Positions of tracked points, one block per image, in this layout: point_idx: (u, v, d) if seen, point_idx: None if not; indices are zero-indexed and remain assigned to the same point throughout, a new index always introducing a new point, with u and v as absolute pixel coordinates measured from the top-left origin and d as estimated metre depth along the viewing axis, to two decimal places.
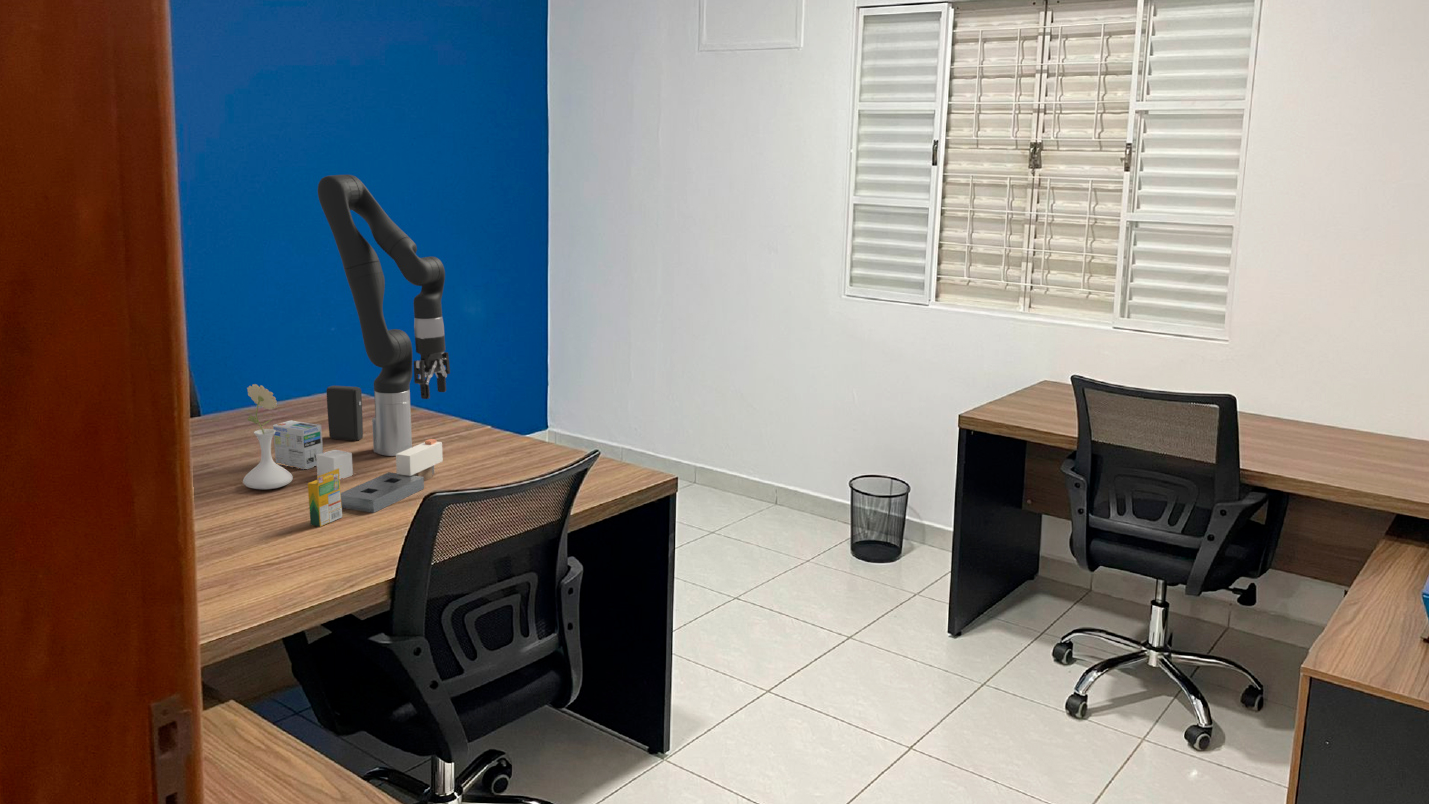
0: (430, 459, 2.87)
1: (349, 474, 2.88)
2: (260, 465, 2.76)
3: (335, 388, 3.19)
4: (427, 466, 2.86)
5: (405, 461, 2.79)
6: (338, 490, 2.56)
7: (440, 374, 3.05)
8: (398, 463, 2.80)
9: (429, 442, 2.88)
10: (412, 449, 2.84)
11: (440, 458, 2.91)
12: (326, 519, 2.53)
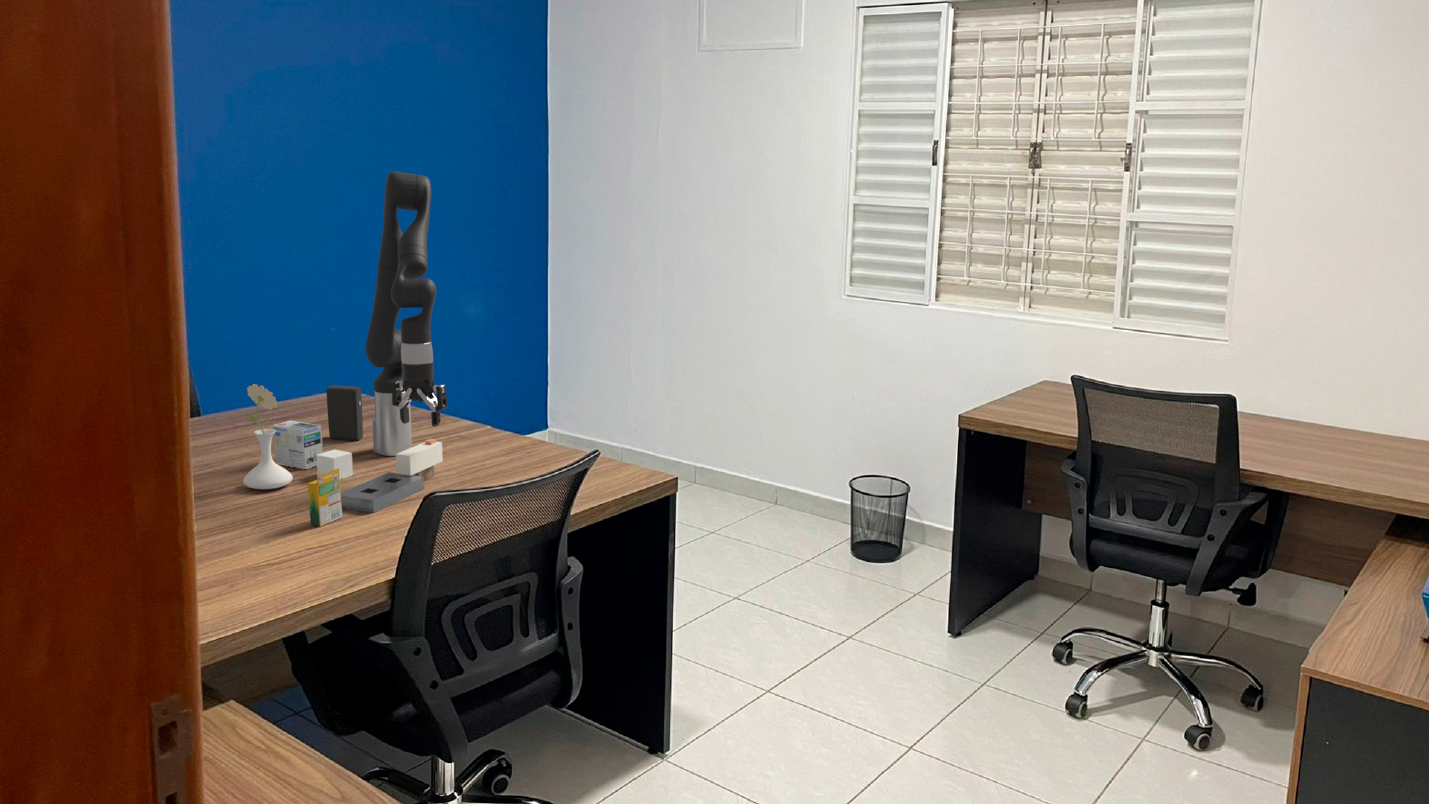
0: (430, 459, 2.87)
1: (349, 474, 2.88)
2: (260, 465, 2.76)
3: (335, 388, 3.19)
4: (427, 466, 2.86)
5: (405, 461, 2.79)
6: (338, 490, 2.56)
7: (404, 404, 2.84)
8: (398, 463, 2.80)
9: (429, 442, 2.88)
10: (412, 449, 2.84)
11: (440, 458, 2.91)
12: (326, 519, 2.53)
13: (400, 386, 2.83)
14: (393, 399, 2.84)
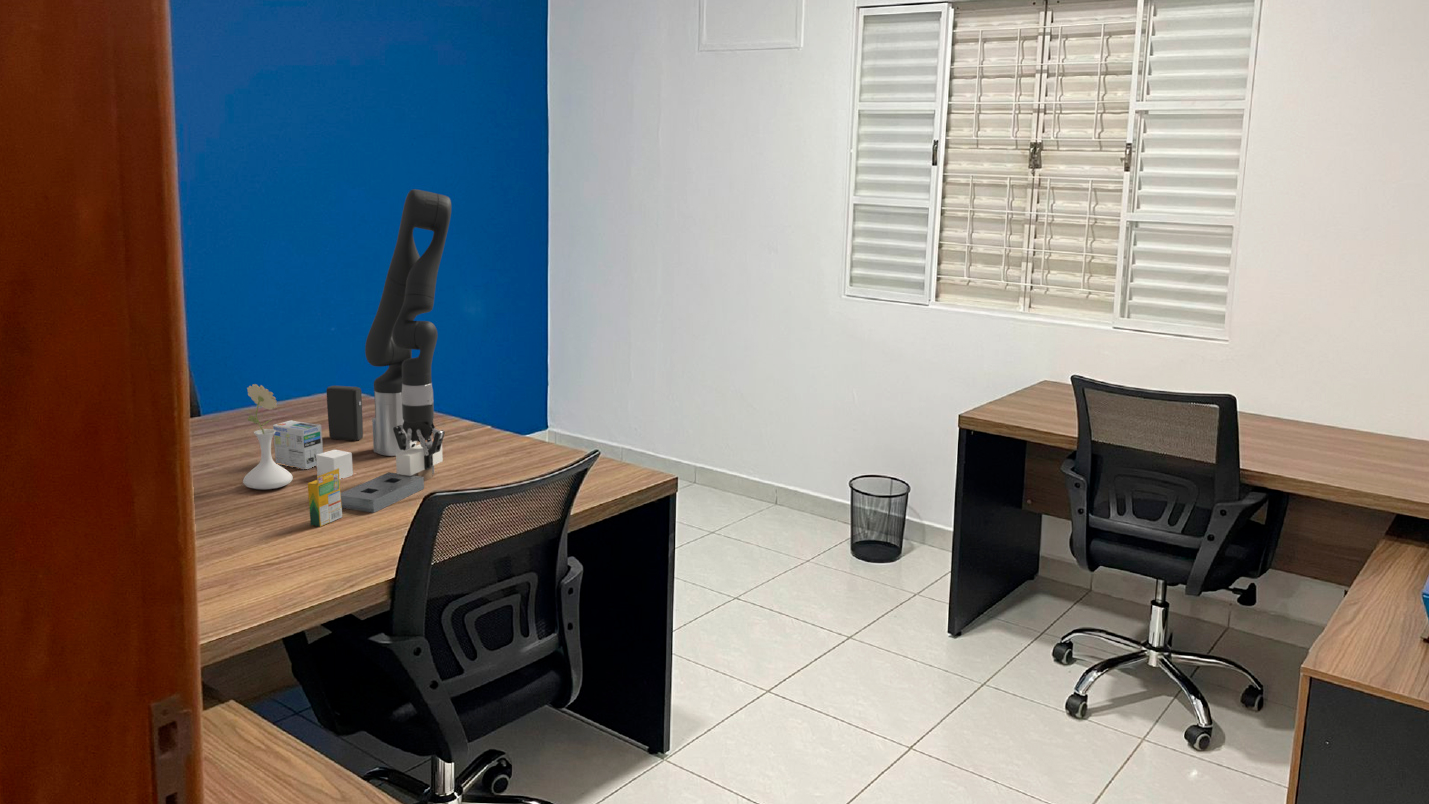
0: None
1: (349, 474, 2.88)
2: (260, 465, 2.76)
3: (335, 388, 3.19)
4: None
5: (405, 461, 2.79)
6: (338, 490, 2.56)
7: None
8: (398, 463, 2.80)
9: None
10: (412, 449, 2.84)
11: (440, 458, 2.91)
12: (326, 519, 2.53)
13: (401, 429, 2.85)
14: (399, 444, 2.85)
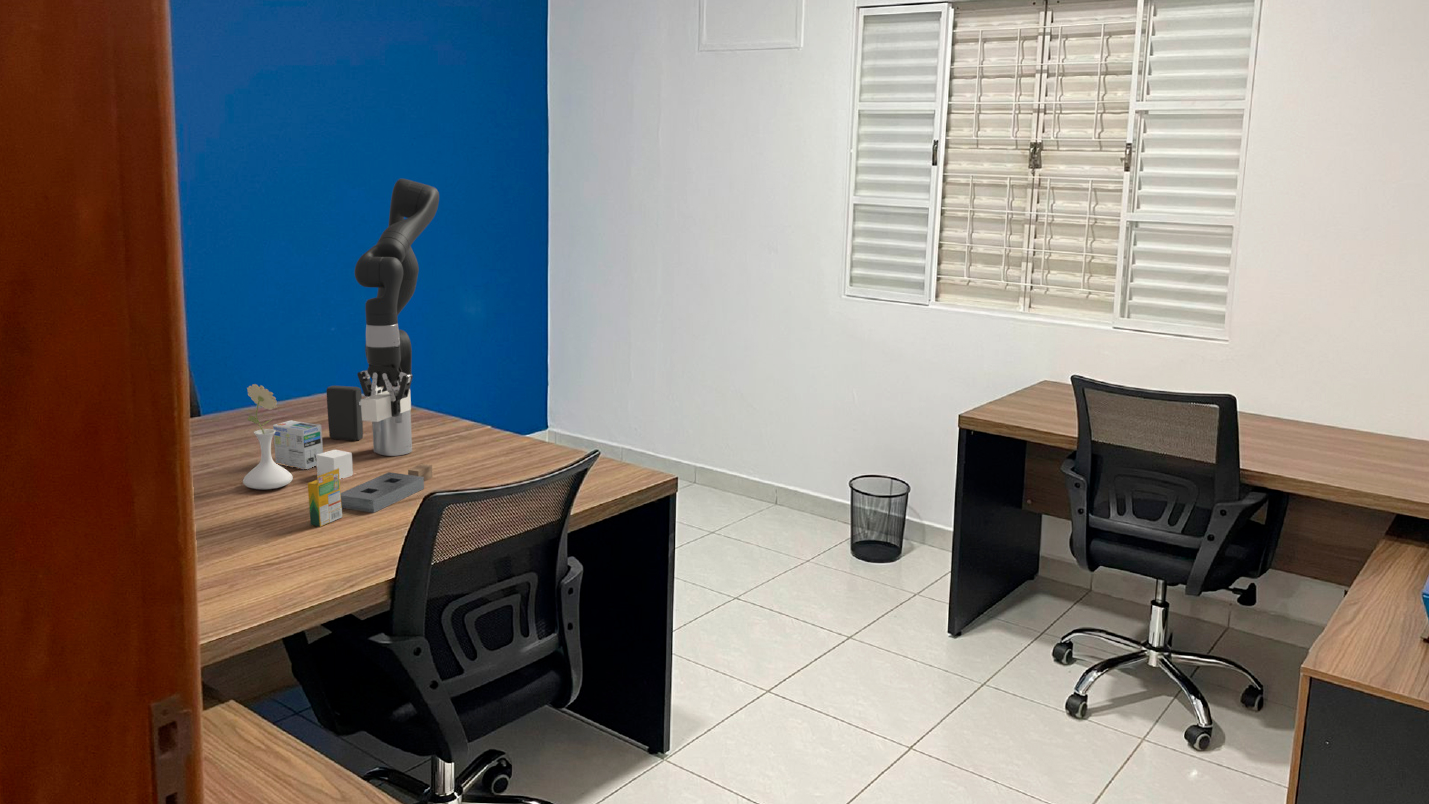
0: None
1: (349, 474, 2.88)
2: (260, 465, 2.76)
3: (335, 388, 3.19)
4: None
5: (371, 406, 2.62)
6: (338, 490, 2.56)
7: None
8: (363, 409, 2.63)
9: None
10: (378, 395, 2.67)
11: (408, 406, 2.74)
12: (326, 519, 2.53)
13: (366, 374, 2.68)
14: (364, 390, 2.68)
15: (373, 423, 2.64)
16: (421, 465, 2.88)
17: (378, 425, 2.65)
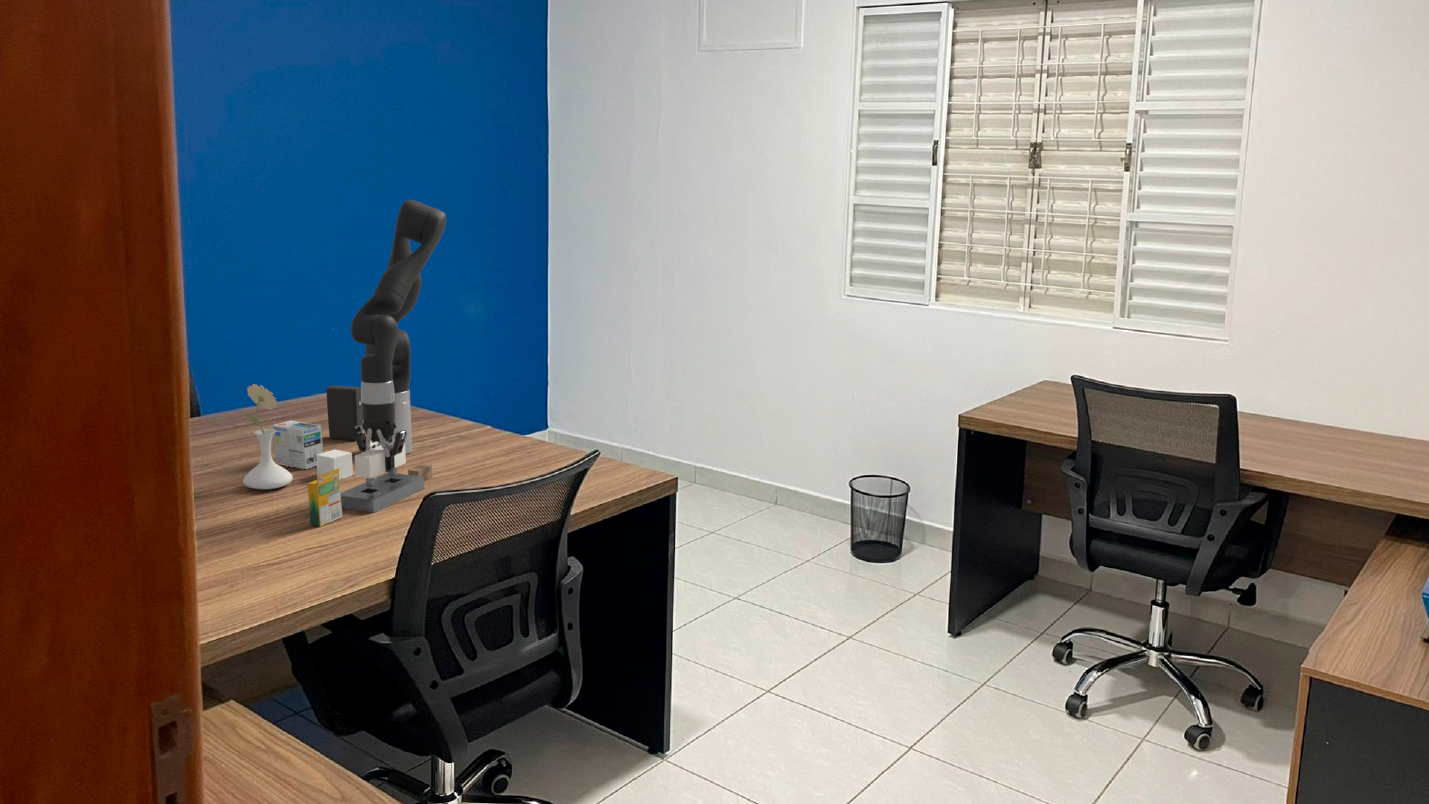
0: None
1: (349, 474, 2.88)
2: (260, 465, 2.76)
3: (335, 388, 3.19)
4: None
5: (364, 462, 2.63)
6: (338, 490, 2.56)
7: None
8: (357, 465, 2.64)
9: None
10: (372, 450, 2.68)
11: (403, 460, 2.76)
12: (326, 519, 2.53)
13: (361, 429, 2.70)
14: (359, 444, 2.70)
15: (367, 478, 2.66)
16: (421, 465, 2.88)
17: (372, 481, 2.66)
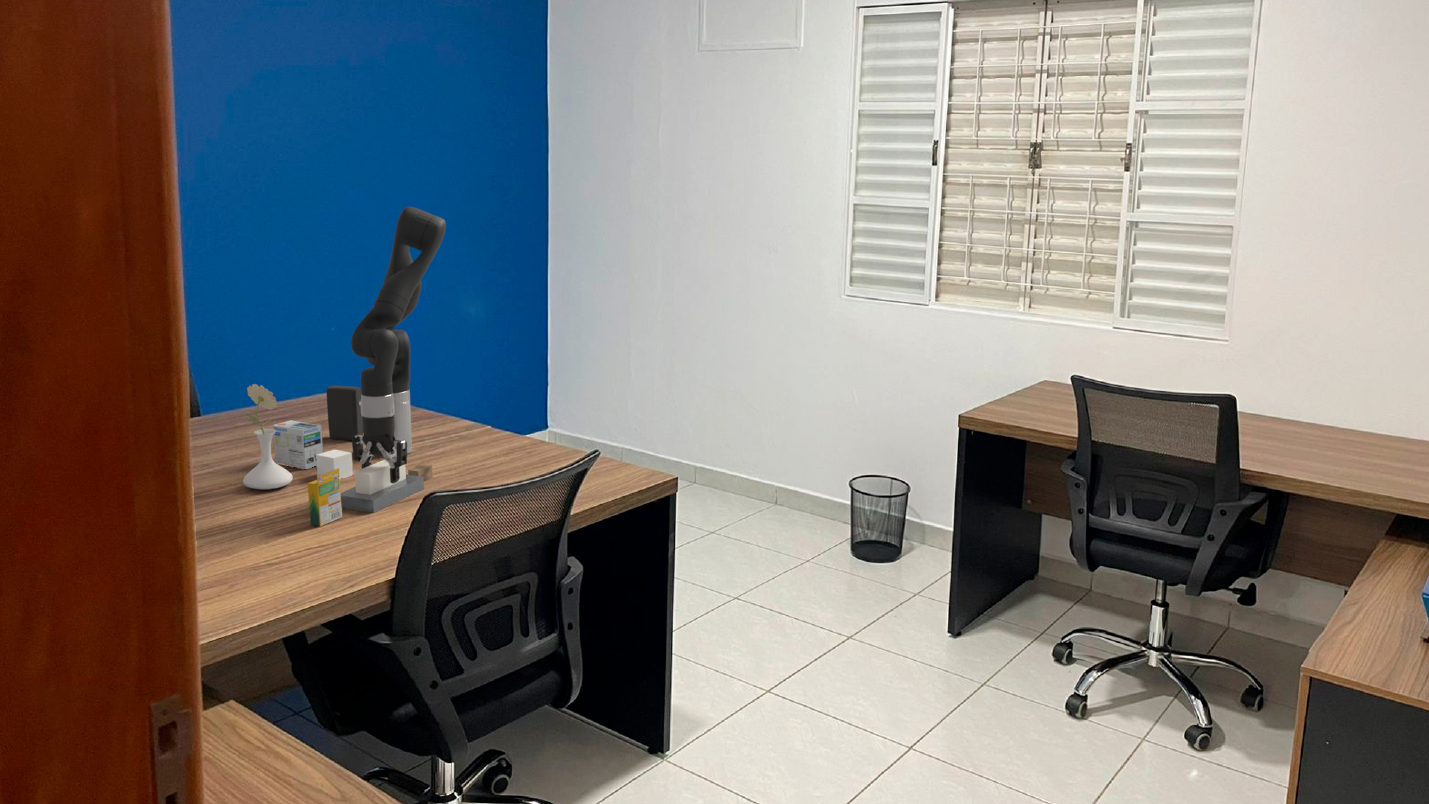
0: None
1: (349, 474, 2.88)
2: (260, 465, 2.76)
3: (335, 388, 3.19)
4: (389, 484, 2.71)
5: (364, 479, 2.64)
6: (338, 490, 2.56)
7: None
8: (357, 481, 2.65)
9: None
10: (372, 466, 2.69)
11: (403, 475, 2.76)
12: (326, 519, 2.53)
13: (360, 440, 2.70)
14: (354, 454, 2.71)
15: None
16: (421, 465, 2.88)
17: None
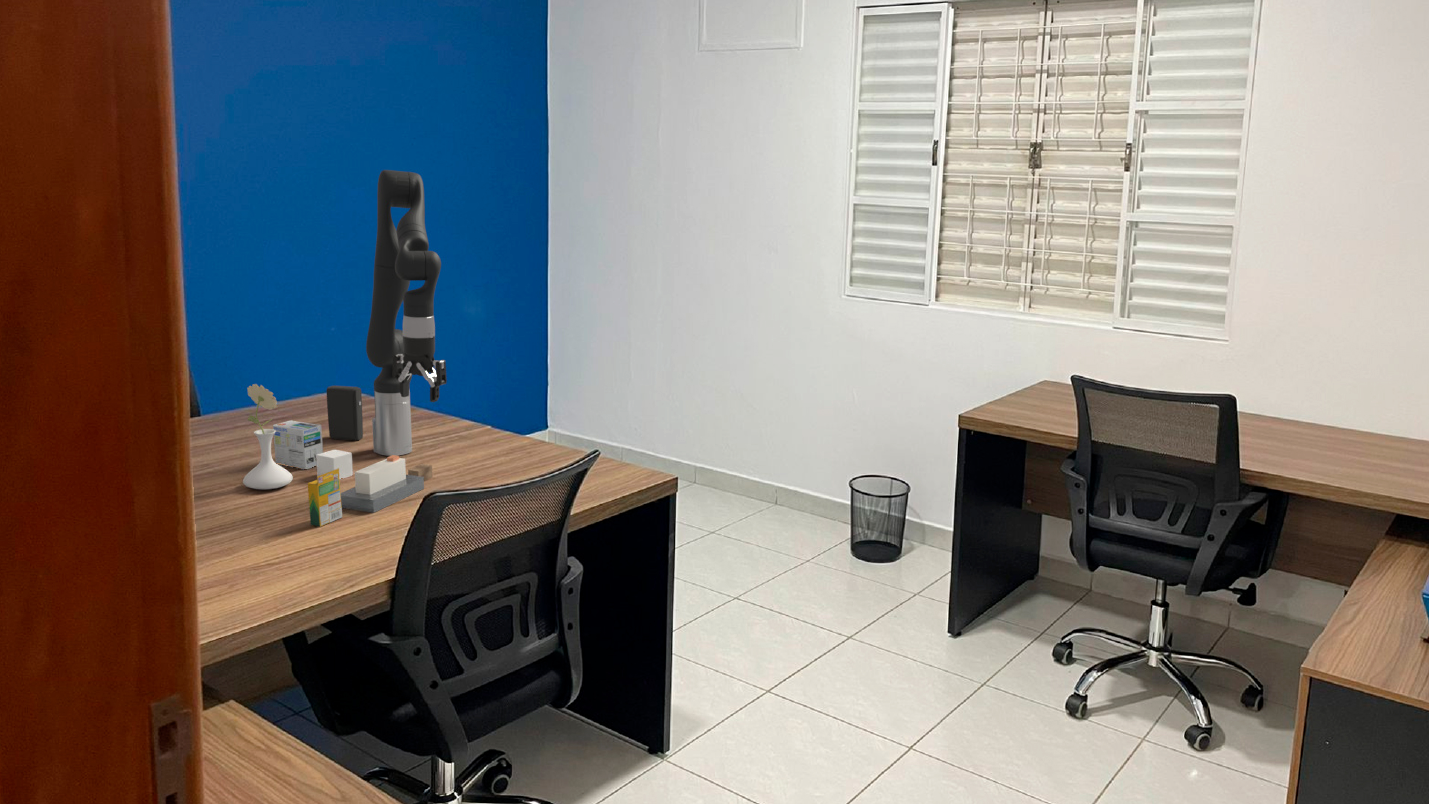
0: (392, 476, 2.72)
1: (349, 474, 2.88)
2: (260, 465, 2.76)
3: (335, 388, 3.19)
4: (389, 484, 2.71)
5: (364, 479, 2.64)
6: (338, 490, 2.56)
7: (404, 377, 2.81)
8: (357, 481, 2.65)
9: (391, 459, 2.74)
10: (372, 466, 2.69)
11: (403, 475, 2.76)
12: (326, 519, 2.53)
13: (401, 359, 2.79)
14: (393, 372, 2.80)
15: None
16: (421, 465, 2.88)
17: None
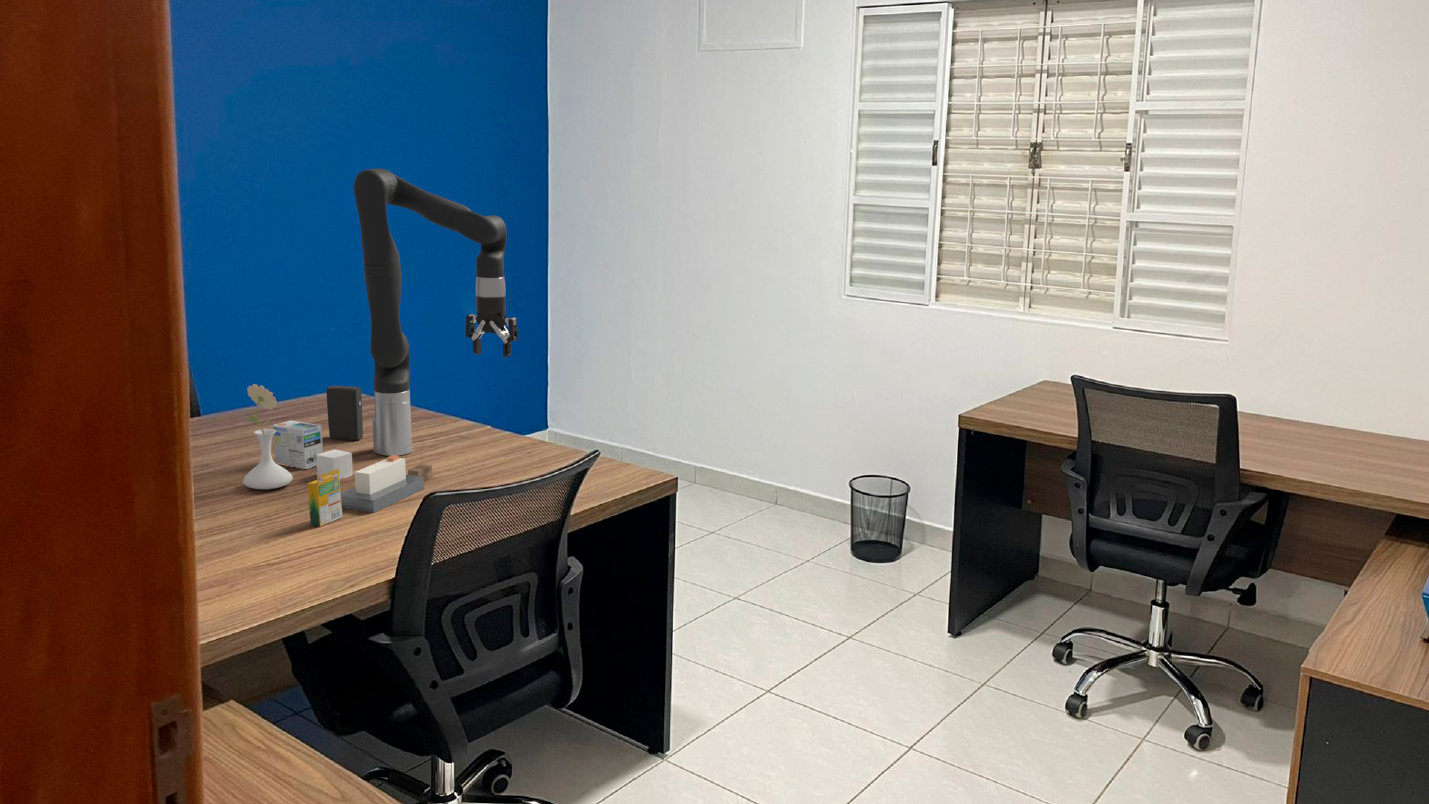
0: (392, 476, 2.72)
1: (349, 474, 2.88)
2: (260, 465, 2.76)
3: (335, 388, 3.19)
4: (389, 484, 2.71)
5: (364, 479, 2.64)
6: (338, 490, 2.56)
7: None
8: (357, 481, 2.65)
9: (391, 459, 2.74)
10: (372, 466, 2.69)
11: (403, 475, 2.76)
12: (326, 519, 2.53)
13: (473, 319, 3.00)
14: (467, 331, 3.00)
15: None
16: (421, 465, 2.88)
17: None
